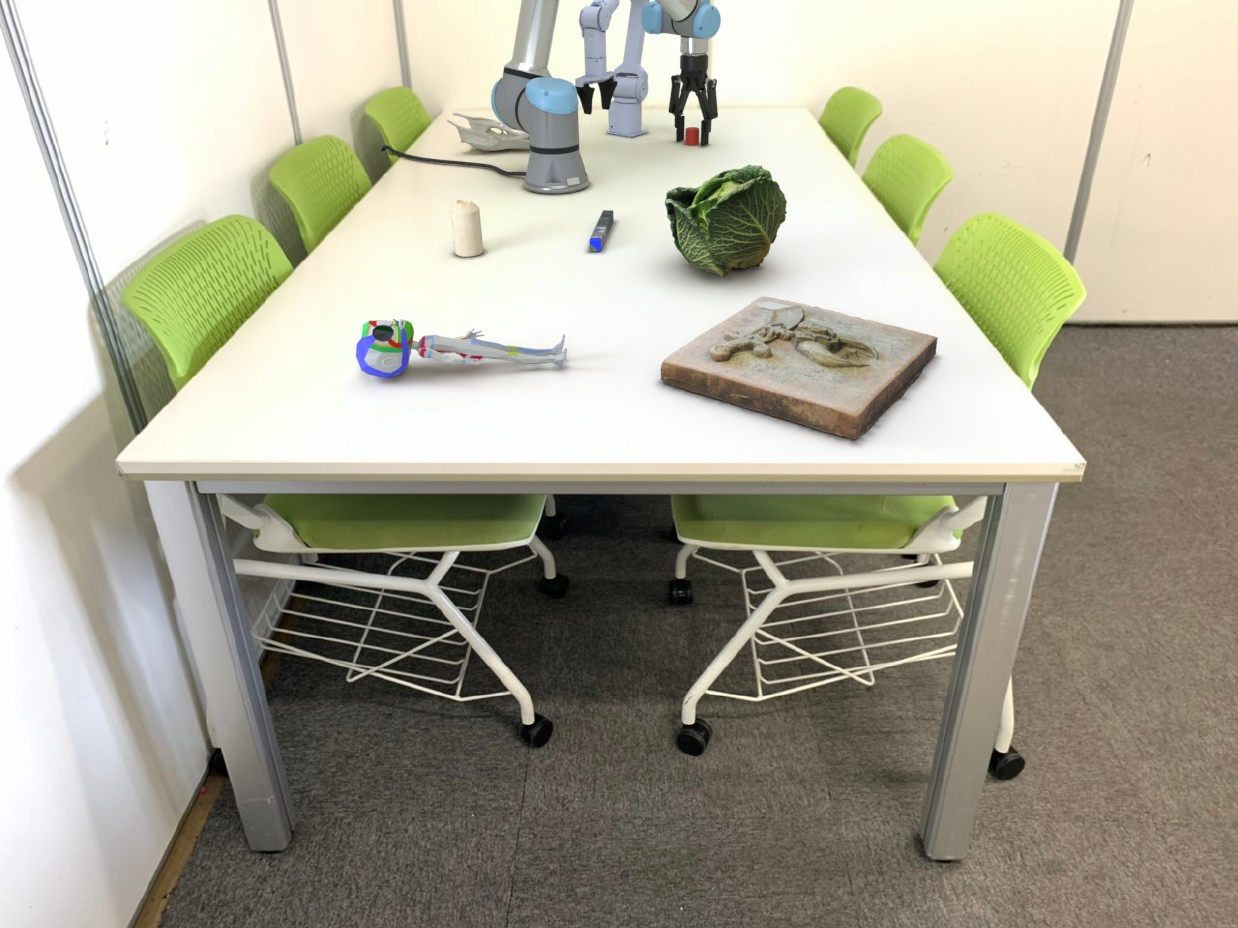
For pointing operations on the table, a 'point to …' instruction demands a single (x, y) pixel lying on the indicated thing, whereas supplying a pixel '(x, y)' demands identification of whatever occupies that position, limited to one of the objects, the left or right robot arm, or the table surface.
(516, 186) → the table surface
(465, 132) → the anatomical model
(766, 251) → the vegetable
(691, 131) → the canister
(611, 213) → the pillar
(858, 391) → the plaque
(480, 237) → the candle
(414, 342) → the toy
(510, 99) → the left robot arm
